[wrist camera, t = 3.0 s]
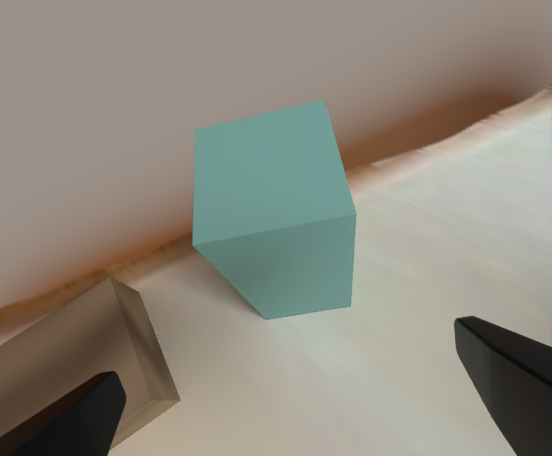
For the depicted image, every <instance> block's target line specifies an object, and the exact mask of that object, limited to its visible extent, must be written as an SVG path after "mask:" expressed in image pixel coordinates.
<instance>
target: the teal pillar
mask: <svg viewBox="0 0 552 456" xmlns="http://www.w3.org/2000/svg"><path fill="white" fill-rule="evenodd" d="M193 202H194V203H193V243H192V245H193V246H194V247H195V248H196V249H197V250H198V251H199V252H200V253H201V254H202V255H203V257H204V258H205V259H206V260H207V261H208V262H209V263H210V264H211V265H212V266H213V267H214V268H215V269H216V270H217V271H218V272H219V273H220V274H221V275H222V276H223V277H224V278H225V279H226V280H227V281H228V282H229V283H230V284H231V285H232V286H233V287H234V288H235V289H236V290H237V291H238V292H239V293H240V294H241V295H242V296H243V297H244V298H245V299H246V300H247V301H248V302H249V303H250V304H251V305H252V306H253V307H254V308H255V309H256V310H257V311H258V312H259V313H260V314H261V315H262V316H263V317H264V318H265V319H266V320H269V319H275V318H281V317H287V316H294V315H300V314H306V313H312V312H318V311H325V310H331V309H337V308H343V307H350V306H351V296H352V278H353V261H354V244H355V227H356V211H355V207H354V204H353V200H352V197H351V193H350V190H349V186H348V182H347V179H346V175H345V172H344V168H343V165H342V161H341V158H340V154H339V150H338V147H337V143H336V140H335V136H334V133H333V129H332V126H331V122H330V118H329V115H328V111H327V108H326V104H325V101H324V100H319V101H315V102H311V103H307V104H303V105H298V106H294V107H290V108H286V109H281V110H277V111H273V112H268V113H264V114H260V115H256V116H252V117H247V118H243V119H239V120H235V121H230V122H226V123H222V124H218V125H213V126H209V127H205V128H201V129H196V130H195V161H194V201H193Z"/></svg>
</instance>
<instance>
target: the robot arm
mask: <svg viewBox="0 0 552 456" xmlns="http://www.w3.org/2000/svg"><path fill="white" fill-rule="evenodd" d="M454 329H455V342H456V350H457V353H458V356H459V358H460V360H461V362H462V364H463V365H464V367H465V369H466V371H467V373H468V375H469V377H470V378H471V380H472V382H473V384H474V386H475V388H476V390H477V391H478V393H479V395H480V397H481V399H482V401H483V403H484V404H485V406H486V408H487V410H488V412H489V413H490V415H491V417H492V419H493V420H494V422H495V423H496V425H497V426H498V428H499V430H500V431H501V432H502V434H503V435H504V437H505V438H506V440H507V441H508V443H509V444H510V446H511V447H512V449H513V450H514V452H515V453H516V455H517V456H552V347H550V346H548V345H545V344H543V343H540V342H538V341H535V340H533V339H530V338H528V337H525V336H523V335H520V334H518V333H515V332H512V331H510V330H507V329H505V328H502V327H500V326H497V325H495V324H492V323H490V322H487V321H485V320H482V319H480V318H477V317H474V316H467V317H461V318H457V319H456V320H455V322H454ZM125 405H126V393H125V390H124V388H123V385H122V383H121V381H120V378H119V376H118V374H117V373H116V372H115V371H107V372H101V373H98V374H96V375H95V376H93V377H92V378H90V379H89V380H87V381H86V382H84V383H83V384H81V385H80V386H78V387H76V388H75V389H73V390H72V391H70V392H69V393H67V394H66V395H64V396H63V397H61V398H60V399H58V400H56V401H55V402H53V403H52V404H50V405H49V406H47V407H46V408H44V409H43V410H41V411H40V412H38V413H36V414H35V415H33V416H32V417H30V418H29V419H27V420H26V421H24V422H23V423H21V424H20V425H18V426H16V427H15V428H13V429H12V430H10V431H9V432H7V433H6V434H4V435H3V436H1V437H0V456H107V455H108V453H109V450H110V447H111V444H112V441H113V439H114V436H115V433H116V430H117V427H118V425H119V422H120V419H121V416H122V413H123V410H124V408H125Z"/></svg>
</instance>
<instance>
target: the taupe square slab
mask: <svg viewBox="0 0 552 456" xmlns="http://www.w3.org/2000/svg"><path fill="white" fill-rule="evenodd" d="M107 371H115V372H116V373H117V374H118V376H119V378H120V381H121V383H122V385H123V388H124V390H125V393H126V405H125V408H124V410H123V413H122V416H121V419H120V422H119V425H118V427H117V430H116V433H115V436H114V439H113V441H112V444H111V447H110V450H111V449H112V448H113V447H115V446H116V445H118V444H119V443H121V442H122V441H123V440H125V439H126V438H128V437H129V436H131V435H132V434H133V433H135V432H136V431H138V430H139V429H141V428H142V427H143V426H145V425H146V424H148V423H149V422H151V421H152V420H153V419H155V418H156V417H158V416H159V415H161V414H162V413H163V412H165V411H166V410H168V409H169V408H171V407H172V406H173V405H175V404H176V403H178V402H179V401H181V400H180V397H179V395H178V392H177V389H176V387H175V384H174V382H173V379H172V377H171V374H170V371H169V369H168V366H167V364H166V361H165V358H164V356H163V353H162V351H161V348H160V345H159V343H158V340H157V338H156V335H155V332H154V330H153V327H152V325H151V322H150V320H149V317H148V314H147V312H146V309H145V307H144V304H143V301H142V299H141V296H140V294H139V292H137V291H135V290H133V289H131V288H130V287H128V286H126V285H124V284H122V283H120V282H118V281H116V280H114V279H112V278H111V277H109V278H107V279H106V280H104V281H103V282H101V283H99V284H98V285H96V286H95V287H93V288H92V289H90V290H88V291H87V292H85V293H84V294H82V295H80V296H79V297H77V298H76V299H74V300H72V301H71V302H69V303H68V304H66V305H64V306H63V307H61V308H60V309H58V310H56V311H55V312H53V313H52V314H50V315H49V316H47V317H45V318H44V319H42V320H41V321H39V322H37V323H36V324H34V325H33V326H31V327H29V328H28V329H26V330H25V331H23V332H21V333H20V334H18V335H17V336H15V337H14V338H12V339H10V340H9V341H7V342H6V343H4V344H2V345H1V346H0V437H1V436H3V435H4V434H6V433H7V432H9V431H10V430H12V429H13V428H15V427H16V426H18V425H20V424H21V423H23V422H24V421H26V420H27V419H29V418H30V417H32V416H33V415H35V414H36V413H38V412H40V411H41V410H43V409H44V408H46V407H47V406H49V405H50V404H52V403H53V402H55V401H56V400H58V399H60V398H61V397H63V396H64V395H66V394H67V393H69V392H70V391H72V390H73V389H75V388H76V387H78V386H80V385H81V384H83V383H84V382H86V381H87V380H89V379H90V378H92V377H93V376H95V375H96V374H98V373H101V372H107Z"/></svg>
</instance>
